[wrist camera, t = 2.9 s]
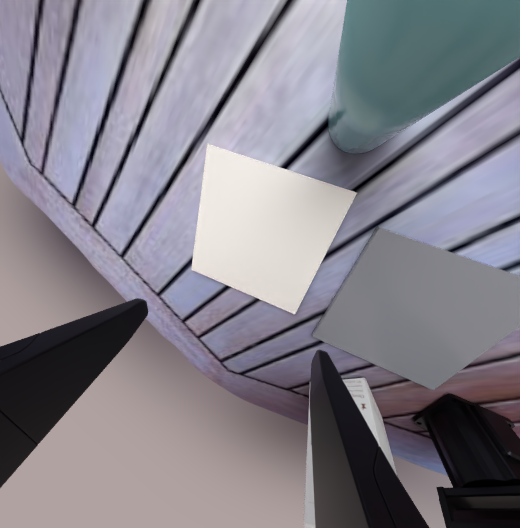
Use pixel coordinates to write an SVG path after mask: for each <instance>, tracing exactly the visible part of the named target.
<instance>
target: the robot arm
mask: <svg viewBox="0 0 520 528" xmlns="http://www.w3.org/2000/svg"><path fill="white" fill-rule="evenodd" d="M147 315H148V308H147V303H146V301H145V300H143V299H139V298H137V299H134V300H131V301H128V302H125V303H123V304H120V305H117V306H114V307H111V308H109V309H106V310H103V311H100V312H98V313H95V314H92V315H89V316H86V317H83V318H81V319H78V320H75V321H72V322H69V323H67V324H64V325H61V326H58V327H55V328H53V329H50V330H47V331H44V332H42V333H41V334H40V333H38V334H35V335H33V336H30V337H27V338H24V339H21V340H18V341H15V342H13V343H10V344H7V345H4V346H1V347H0V488H1V487H2V485H3V484H4V483H5V482H6V481H7V480H8V478H9V477H10V476H11V475H12V474H13V473H14V472H15V471H16V469H17V468H18V467H19V466H20V465H21V464H22V462H23V461H24V460H25V459H26V458H27V457H28V456H29V455H30V453H31V452H32V451H33V450H34V449H35V448H36V446H37V445H38V444H39V443H40V442H41V441H42V440H43V438H44V437H45V436H46V435H47V434H48V433H49V432H50V430H51V429H52V428H53V427H54V426H55V424H56V423H57V422H58V421H59V420H60V419H61V418H62V417H63V416H64V414H65V413H66V412H67V411H68V410H69V408H70V407H71V406H72V405H73V404H74V403H75V402H76V401H77V399H78V398H79V397H80V396H81V395H82V394H83V393H84V392H85V390H86V389H87V388H88V387H89V386H90V385H91V384H92V382H93V381H94V380H95V379H96V378H97V377H98V376H99V374H100V373H101V372H102V371H103V370H104V369H105V367H106V366H107V365H108V364H109V363H110V362H111V361H112V359H113V358H114V357H115V356H116V355H117V354H118V353H119V352H120V350H121V349H122V348H123V347H124V346H125V345H126V343H127V342H128V341H129V340H130V338H131V337H132V336H133V334H134V333H135V332H136V330H137V329H138V327H139V326H140V325H141V323H142V322H143V321H144V319H145V318H146V316H147ZM413 421H414V424H415V425H417V426H419V427H421V428H423V429H426V430H428V432H429V434H430V436H431V439H432V441H433V443H434V445H435V448H436V450H437V452H438V454H439V457H440V459H441V461H442V463H443V465H444V468H445V470H446V472H447V474H448V477H449V479H450V481H451V483H452V485H453V488H444V487H437V491H438V495H439V501H440V505H441V509H442V513H443V517H444V520H445V524H446V528H520V438H519V437H518V436H517V435H516V433H515V432H514V431H513V430H512V428H514V427H515V425H514V424H513V423H512V421H511V420H510V419H508V418H505V417H503V416H501V415H498V414H496V413H494V412H492V411H489V410H487V409H485V408H483V407H480V406H478V405H476V404H474V403H471V402H469V401H467V400H464V399H462V398H460V397H458V396H455V395H453V394H448V395H446V396H444V397H443V398H441V399H440V400H438V401H437V402H436V403H434V404H433V405H431V406H430V407H428V408H427V409H425V410H424V411H423V412H421V413H420V414H418V415H417V416H415V417H414V418H413ZM310 422H311V443H312V465H313V486H314V508H315V528H429V526H428V525H427V524H426V522H425V520H424V519H423V517H422V515H421V514H420V512H419V511H418V509H417V508H416V506H415V505H414V503H413V501H412V500H411V498H410V496H409V495H408V493H407V492H406V490H405V488H404V487H403V485H402V484H401V482H400V480H399V479H398V477H397V475H396V473H395V472H394V470H393V468H392V466H391V465H390V463H389V461H388V460H387V458H386V456H385V454H384V452H383V451H382V449H381V447H380V446H379V444H378V442H377V440H376V438H375V437H374V435H373V433H372V431H371V430H370V428H369V426H368V424H367V422H366V421H365V419H364V417H363V415H362V414H361V412H360V410H359V408H358V406H357V405H356V403H355V401H354V399H353V398H352V396H351V394H350V392H349V390H348V389H347V387H346V385H345V383H344V382H343V380H342V378H341V376H340V374H339V373H338V371H337V369H336V367H335V366H334V364H333V362H332V360H331V358H330V357H329V355H328V353H327V352H326V351H323V350H317V351H316V353H315V356H314V358H313V360H312V365H311V383H310Z"/></svg>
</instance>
